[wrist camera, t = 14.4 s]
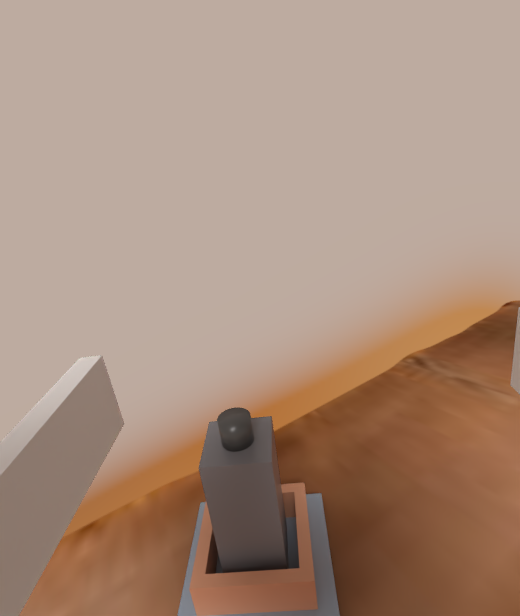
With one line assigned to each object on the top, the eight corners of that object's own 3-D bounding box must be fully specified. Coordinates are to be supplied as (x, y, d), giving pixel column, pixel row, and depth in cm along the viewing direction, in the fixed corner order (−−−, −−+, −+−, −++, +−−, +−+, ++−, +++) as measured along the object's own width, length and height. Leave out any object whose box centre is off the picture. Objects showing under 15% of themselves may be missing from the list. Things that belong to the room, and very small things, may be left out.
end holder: (321, 500, 39) (318, 469, 37) (342, 640, 27) (339, 602, 26) (202, 509, 40) (195, 478, 38) (175, 649, 28) (163, 612, 27)
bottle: (287, 527, 35) (268, 394, 30) (289, 583, 31) (268, 437, 26) (232, 531, 36) (205, 400, 31) (226, 587, 31) (193, 444, 26)
